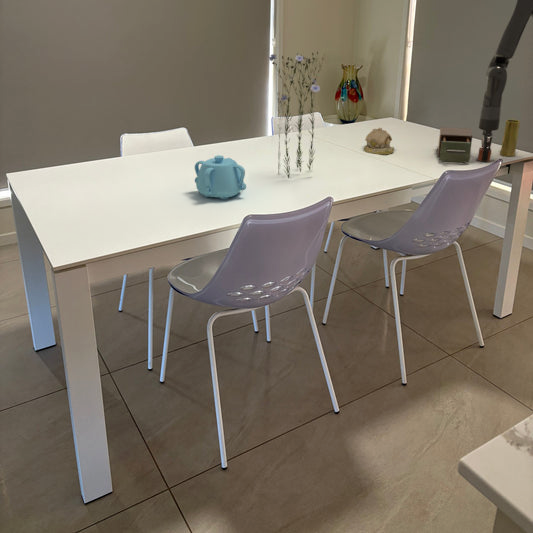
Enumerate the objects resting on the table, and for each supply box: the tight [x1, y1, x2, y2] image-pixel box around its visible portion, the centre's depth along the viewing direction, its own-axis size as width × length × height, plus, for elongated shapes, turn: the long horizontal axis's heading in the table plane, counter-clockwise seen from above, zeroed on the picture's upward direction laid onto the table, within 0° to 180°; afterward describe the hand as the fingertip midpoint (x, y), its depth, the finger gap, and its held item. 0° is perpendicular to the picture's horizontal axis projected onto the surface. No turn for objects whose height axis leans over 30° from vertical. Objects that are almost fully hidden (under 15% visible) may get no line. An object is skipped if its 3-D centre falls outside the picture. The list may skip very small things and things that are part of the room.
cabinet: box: [437, 126, 473, 158], centre depth 250 cm, size 15×13×10 cm
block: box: [477, 147, 492, 162], centre depth 242 cm, size 4×4×4 cm
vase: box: [499, 118, 521, 157], centre depth 246 cm, size 6×6×14 cm
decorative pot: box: [194, 154, 247, 200], centre depth 202 cm, size 16×16×14 cm
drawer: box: [439, 137, 472, 163], centre depth 240 cm, size 18×11×8 cm, turn 165°
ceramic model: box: [363, 127, 395, 155], centre depth 255 cm, size 14×11×10 cm
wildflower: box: [268, 51, 326, 179], centre depth 215 cm, size 22×23×45 cm
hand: (483, 158), depth 242 cm, fingers open, 5 cm apart
